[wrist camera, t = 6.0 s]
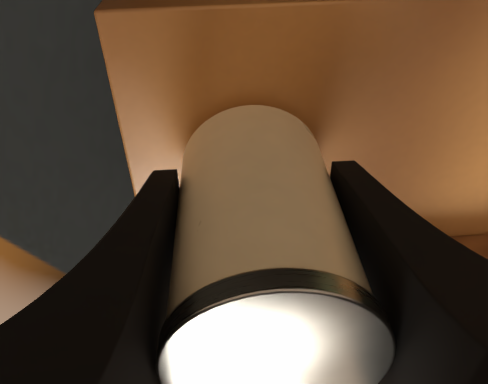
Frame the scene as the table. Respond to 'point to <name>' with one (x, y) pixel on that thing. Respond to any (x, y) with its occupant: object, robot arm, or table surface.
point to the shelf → (317, 88)
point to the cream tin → (266, 264)
